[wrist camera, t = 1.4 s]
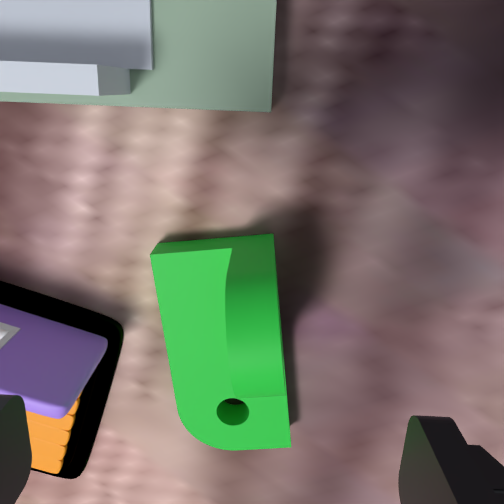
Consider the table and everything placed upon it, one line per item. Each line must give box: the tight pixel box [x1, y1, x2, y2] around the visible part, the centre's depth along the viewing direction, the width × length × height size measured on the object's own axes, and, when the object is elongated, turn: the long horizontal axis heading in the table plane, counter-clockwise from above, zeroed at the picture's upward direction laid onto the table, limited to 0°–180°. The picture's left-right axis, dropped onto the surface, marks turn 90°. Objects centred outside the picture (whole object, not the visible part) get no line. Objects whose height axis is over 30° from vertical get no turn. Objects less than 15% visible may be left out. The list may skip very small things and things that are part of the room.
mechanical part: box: [150, 234, 291, 450], centre depth 22 cm, size 12×6×8 cm, turn 5°
